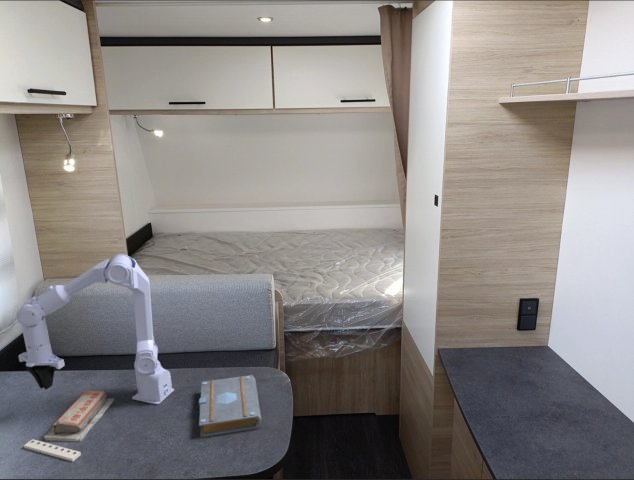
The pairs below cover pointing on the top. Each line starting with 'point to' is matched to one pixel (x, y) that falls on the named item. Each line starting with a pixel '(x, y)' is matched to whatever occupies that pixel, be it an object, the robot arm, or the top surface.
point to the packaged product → (80, 417)
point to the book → (229, 406)
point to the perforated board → (52, 450)
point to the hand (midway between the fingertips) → (46, 386)
